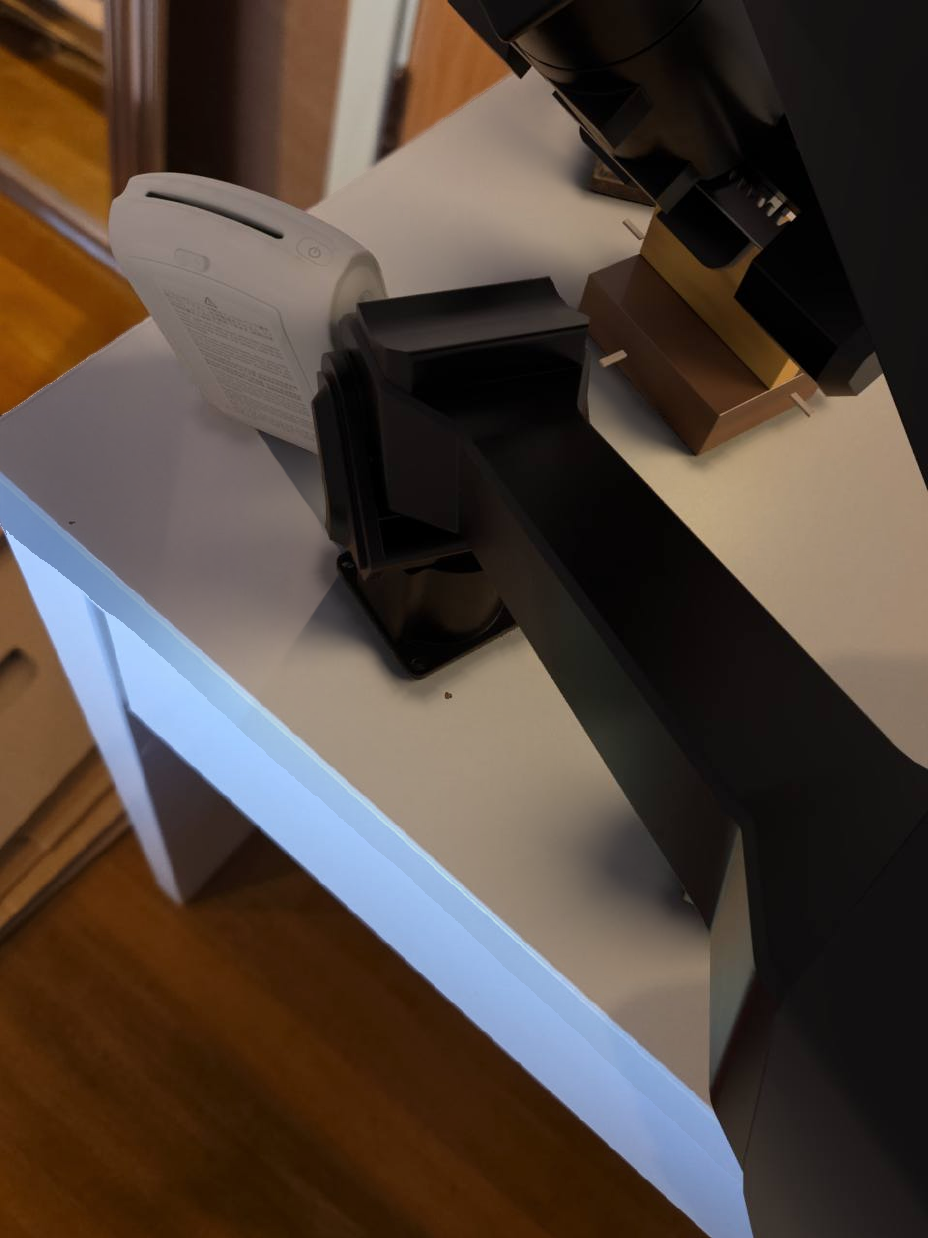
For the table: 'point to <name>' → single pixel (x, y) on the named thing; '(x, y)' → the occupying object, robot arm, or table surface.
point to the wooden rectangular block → (717, 301)
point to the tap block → (679, 356)
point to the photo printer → (242, 291)
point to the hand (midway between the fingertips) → (765, 209)
